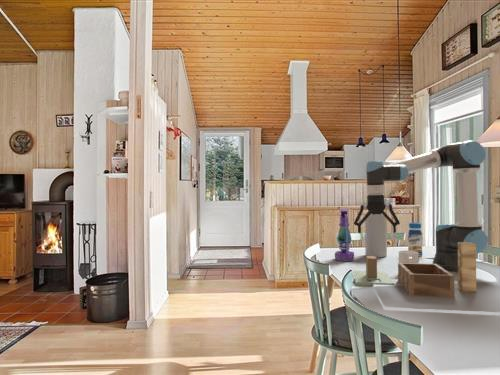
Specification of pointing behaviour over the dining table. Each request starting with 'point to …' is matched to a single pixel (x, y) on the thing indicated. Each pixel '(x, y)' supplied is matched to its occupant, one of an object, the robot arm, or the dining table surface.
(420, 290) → the open wooden box
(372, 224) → the cylinder vase
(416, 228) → the beverage bottle
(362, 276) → the lid
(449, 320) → the dining table surface
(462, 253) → the tall wooden block
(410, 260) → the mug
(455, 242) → the robot arm
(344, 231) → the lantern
